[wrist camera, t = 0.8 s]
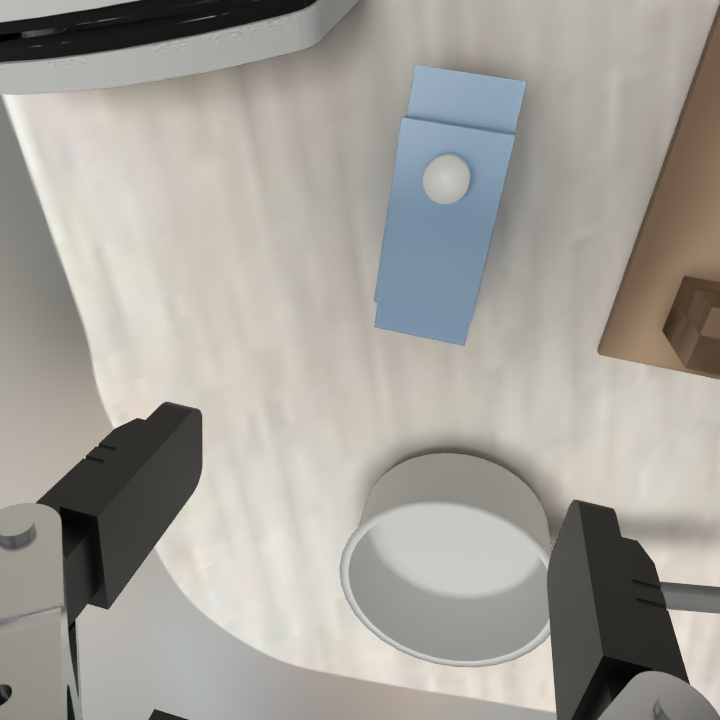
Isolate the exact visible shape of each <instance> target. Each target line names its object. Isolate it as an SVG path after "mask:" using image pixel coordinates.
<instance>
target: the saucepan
mask: <svg viewBox="0 0 720 720" xmlns="http://www.w3.org/2000/svg"><path fill="white" fill-rule="evenodd" d="M550 557H551V546H550V536H549V528H548V521H547V517H546V514H545V512H544V509H543V507H542V505H541V503H540V501H539V500H538V498H537V497H536V495H535V494H534V493H533V491H532V490H531V489H530V488H529V487H528V486H527V485H526V484H525V483H524V482H523V481H522V480H521V479H520V478H519V477H517V476H516V475H514V474H513V473H511V472H509V471H508V470H506V469H505V468H503V467H501V466H499V465H497V464H494V463H492V462H490V461H487V460H485V459H482V458H478V457H473V456H469V455H465V454H453V453H439V454H427V455H423V456H420V457H416V458H412V459H409V460H407V461H405V462H403V463H401V464H399V465H397V466H395V467H393V468H392V469H391V470H389V471H388V472H387V473H386V474H384V475H383V476H382V477H381V478H380V480H379V481H378V482H377V483H376V484H375V486H374V487H373V489H372V491H371V493H370V495H369V497H368V499H367V502H366V505H365V509H364V512H363V515H362V518H361V521H360V524H359V527H358V529H357V530H356V531H355V532H354V533H353V535H352V536H351V537H350V538H349V540H348V542H347V544H346V546H345V548H344V550H343V553H342V558H341V564H340V578H341V585H342V588H343V591H344V594H345V597H346V600H347V601H348V603H349V605H350V607H351V608H352V610H353V612H354V613H355V615H356V616H357V617H358V618H359V619H360V620H361V622H362V623H363V624H364V625H365V626H366V627H367V628H368V629H369V630H370V631H371V632H373V633H374V634H375V635H376V636H377V637H379V638H380V639H381V640H383V641H384V642H386V643H388V644H389V645H391V646H392V647H394V648H396V649H397V650H399V651H402V652H404V653H406V654H409V655H411V656H413V657H415V658H418V659H422V660H425V661H429V662H432V663H435V664H442V665H448V666H454V667H482V666H491V665H497V664H501V663H504V662H508V661H512V660H515V659H517V658H519V657H521V656H523V655H525V654H527V653H529V652H531V651H532V650H534V649H535V648H536V647H538V646H539V645H540V644H542V643H543V642H544V641H545V640H546V639H547V638H548V636H549V635H550V634H551V633H550V620H549V607H548V594H547V572H548V565H549V560H550ZM660 584H661V591H663V595H664V598H665V601H666V605H667V606H666V609H672V610H684V611H696V612H708V613H720V587H713V586H702V585H691V584H680V583H668V582H660Z"/></svg>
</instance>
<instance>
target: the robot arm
mask: <svg viewBox="0 0 720 720" xmlns="http://www.w3.org/2000/svg"><path fill="white" fill-rule="evenodd" d="M201 471H202V414H201V411H200V410H199V409H196V408H192V407H188V406H183V405H179V404H175V403H171V402H164V403H163V404H161V405H160V406H159V407H158V408H157V409H156V410H155V411H154V412H153V413H152V414H151V415H150V416H149V417H148V418H147V419H146V420H143V419H139V418H136V419H134V420H132V421H130V422H128V423H126V424H124V425H122V426H120V427H118V428H116V429H114V430H113V431H112V432H111V433H110V434H109V435H108V436H107V437H106V438H105V439H104V440H102V442H100V443H99V446H98V447H95V448H94V449H93V450H92V451H91V452H90V453H89V454H87V455H86V458H85V459H82V460H81V461H80V462H79V463H78V464H77V465H76V466H75V467H74V468H73V469H72V470H70V471H69V472H68V473H67V474H66V475H65V476H64V477H63V478H62V479H61V480H60V481H59V482H58V483H57V484H55V485H54V486H53V487H52V488H51V489H50V490H49V491H48V492H47V493H46V494H45V495H44V496H43V497H42V498H41V499H39V500H38V501H37V502H36V503H25V504H17V505H13V506H9V507H6V508H3V509H1V510H0V720H83V718H82V705H81V704H82V702H81V682H80V663H79V644H78V625H77V619H76V618H77V617H78V615H79V614H80V613H81V612H82V610H83V609H84V608H85V606H86V605H87V604H91V605H94V606H97V607H101V608H104V609H109V608H110V607H111V605H112V604H113V603H114V601H115V600H116V598H117V597H118V596H119V594H120V593H121V592H122V590H123V589H124V587H125V586H126V584H127V583H128V582H129V581H130V579H131V578H132V576H133V575H134V574H135V572H136V571H137V570H138V568H139V567H140V565H141V564H142V563H143V561H144V560H145V558H146V557H147V556H148V554H149V553H150V552H151V550H152V549H153V547H154V546H155V545H156V543H157V542H158V541H159V539H160V538H161V536H162V535H163V534H164V532H165V531H166V530H167V528H168V527H169V525H170V524H171V523H172V521H173V520H174V519H175V517H176V516H177V514H178V513H179V512H180V510H181V509H182V508H183V506H184V505H185V503H186V502H187V501H188V499H189V498H190V497H191V495H192V494H193V492H194V491H195V489H196V487H197V485H198V482H199V479H200V476H201ZM547 594H548V607H549V620H550V633H551V646H552V659H553V672H554V685H555V699H556V712H557V720H720V716H719V715H718V713H717V711H716V710H715V709H714V707H713V706H712V705H711V704H710V702H709V701H708V700H707V699H706V698H705V697H704V696H703V695H702V694H701V693H700V692H698V691H697V690H696V689H695V688H693V687H692V686H691V685H690V683H689V680H688V676H687V673H686V670H685V666H684V663H683V659H682V656H681V653H680V649H679V646H678V642H677V639H676V636H675V632H674V629H673V625H672V622H671V618H670V615H669V612H668V610H666V606H667V605H666V601H665V598H664V595H663V591H661V584H660V581H659V578H658V574H657V571H656V567H655V564H654V562H653V561H652V560H651V558H650V557H649V556H648V554H647V553H646V552H645V550H644V549H643V548H642V546H641V545H640V544H639V542H638V541H636V540H632V539H628V538H623V537H621V533H620V529H619V525H618V521H617V516H616V513H615V511H614V509H613V508H609V507H605V506H600V505H596V504H592V503H588V502H584V501H579V500H573V501H572V503H571V505H570V507H569V509H568V512H567V514H566V517H565V519H564V522H563V525H562V527H561V530H560V532H559V535H558V538H557V540H556V543H555V545H554V548H553V551H552V553H551V557H550V560H549V565H548V572H547ZM149 720H187V719H184V718H181V717H178V716H175V715H172V714H168V713H165V712H162V711H159V710H156V709H154V711H153V713H152V715H151V716H150V718H149Z"/></svg>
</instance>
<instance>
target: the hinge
mask: <svg viewBox="0 0 720 720" xmlns="http://www.w3.org/2000/svg"><path fill="white" fill-rule="evenodd" d="M359 1H360V0H0V94H12V95H20V94H44V93H64V92H74V91H84V90H93V89H103V88H112V87H119V86H126V85H134V84H141V83H148V82H153V81H159V80H165V79H170V78H176V77H182V76H187V75H193V74H199V73H204V72H209V71H214V70H218V69H223V68H228V67H233V66H237V65H242V64H246V63H250V62H255V61H259V60H263V59H268V58H272V57H276V56H280V55H284V54H288V53H293V52H297V51H301V50H303V49H306V48H309V47H311V46H313V45H315V44H317V43H318V42H319V41H320V40H321V39H322V38H323V37H324V36H325V35H326V34H327V33H328V32H329V31H330V30H331V29H332V28H333V27H334V26H335V25H336V24H337V23H338V22H339V21H340V20H341V19H342V18H343V17H344V16H345V15H346V14H347V13H348V12H349V11H350V10H351V9H352V8H353V7H354V6H355V5H356V4H357V3H358V2H359Z"/></svg>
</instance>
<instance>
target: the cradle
mask: <svg viewBox="0 0 720 720" xmlns="http://www.w3.org/2000/svg"><path fill="white" fill-rule="evenodd" d="M598 353H599V355H604V356H609V357H613V358H618V359H623V360H628V361H633V362H638V363H643V364H647V365H652V366H657V367H662V368H667V369H672V370H677V371H681V372H686V373H691V374H696V375H701V376H706V377H711V378H715V379H720V6H719V8H718V11H717V14H716V17H715V20H714V23H713V25H712V28H711V31H710V34H709V37H708V39H707V42H706V45H705V48H704V51H703V54H702V56H701V59H700V62H699V65H698V68H697V71H696V73H695V76H694V79H693V82H692V85H691V88H690V90H689V93H688V96H687V99H686V102H685V105H684V107H683V110H682V113H681V116H680V119H679V122H678V124H677V127H676V130H675V133H674V136H673V139H672V141H671V144H670V147H669V150H668V153H667V156H666V158H665V161H664V164H663V167H662V170H661V173H660V175H659V178H658V181H657V184H656V187H655V190H654V192H653V195H652V198H651V201H650V204H649V206H648V209H647V212H646V215H645V218H644V221H643V223H642V226H641V229H640V232H639V235H638V238H637V240H636V243H635V246H634V249H633V252H632V255H631V257H630V260H629V263H628V266H627V269H626V272H625V274H624V277H623V280H622V283H621V286H620V289H619V291H618V294H617V297H616V300H615V303H614V306H613V308H612V311H611V314H610V317H609V320H608V323H607V325H606V328H605V331H604V334H603V337H602V340H601V342H600V345H599V348H598Z"/></svg>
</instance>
